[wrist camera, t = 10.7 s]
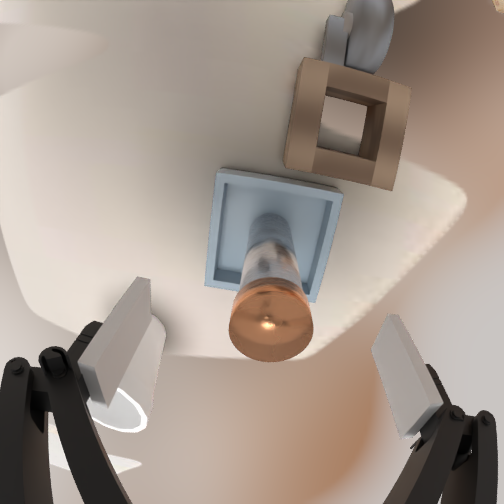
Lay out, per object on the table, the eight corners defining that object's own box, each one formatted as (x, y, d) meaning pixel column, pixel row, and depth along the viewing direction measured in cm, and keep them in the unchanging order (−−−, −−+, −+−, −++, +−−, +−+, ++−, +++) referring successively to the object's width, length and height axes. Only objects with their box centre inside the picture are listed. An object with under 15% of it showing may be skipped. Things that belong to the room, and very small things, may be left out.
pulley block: (308, -2, 20) (321, -40, 12) (396, 23, 20) (433, -2, 13) (282, 161, 27) (288, 173, 19) (373, 180, 27) (407, 200, 19)
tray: (221, 167, 27) (216, 172, 24) (336, 187, 27) (343, 194, 25) (209, 271, 32) (204, 285, 29) (311, 287, 32) (315, 302, 29)
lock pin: (250, 207, 28) (233, 290, 14) (296, 215, 28) (323, 303, 14) (244, 250, 30) (224, 356, 16) (288, 257, 30) (301, 365, 16)
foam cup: (177, 306, 34) (140, 389, 22) (179, 361, 37) (153, 440, 25) (106, 292, 34) (52, 361, 22) (116, 347, 37) (77, 416, 25)
